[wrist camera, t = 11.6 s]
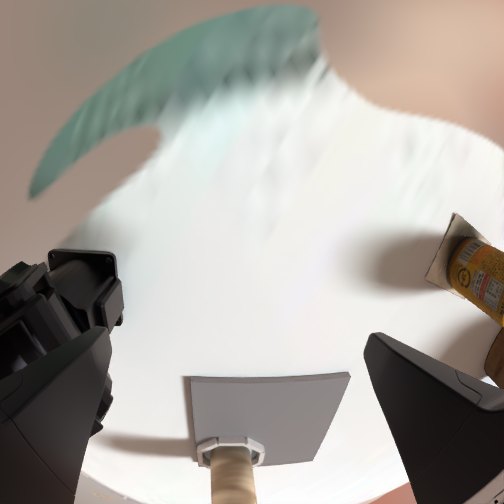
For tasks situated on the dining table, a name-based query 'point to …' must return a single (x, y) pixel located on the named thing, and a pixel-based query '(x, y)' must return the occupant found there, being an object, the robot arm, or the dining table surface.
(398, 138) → the dining table surface
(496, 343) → the wooden container
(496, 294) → the condiment
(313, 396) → the baseplate
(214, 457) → the beige wooden pepper mill
